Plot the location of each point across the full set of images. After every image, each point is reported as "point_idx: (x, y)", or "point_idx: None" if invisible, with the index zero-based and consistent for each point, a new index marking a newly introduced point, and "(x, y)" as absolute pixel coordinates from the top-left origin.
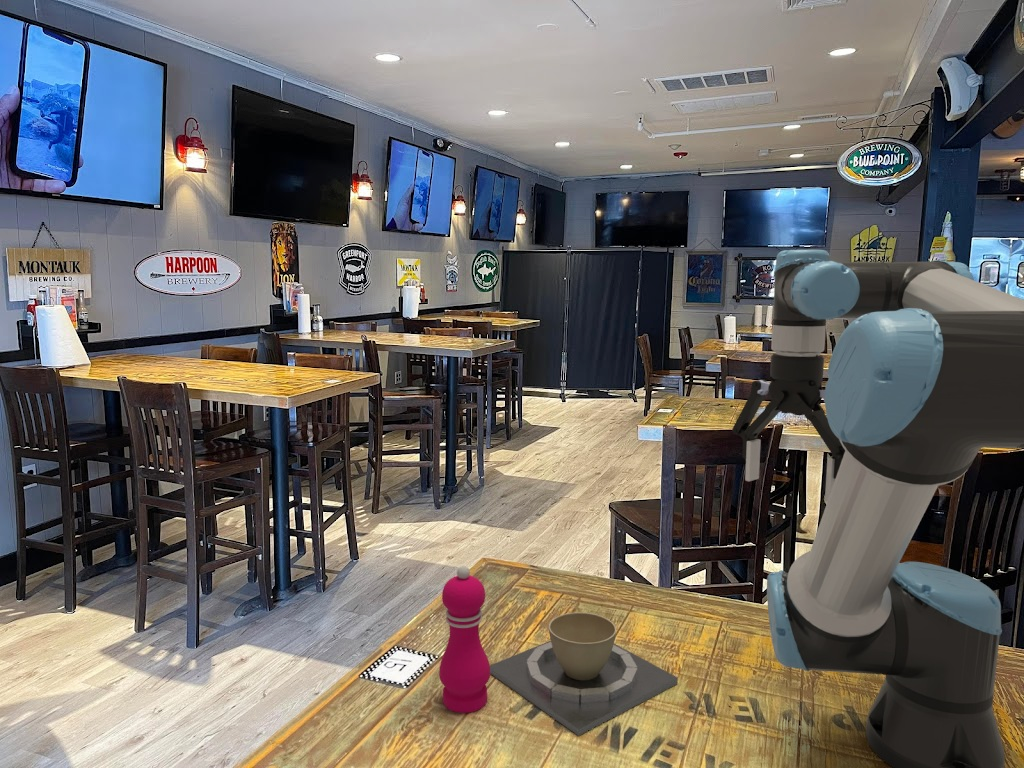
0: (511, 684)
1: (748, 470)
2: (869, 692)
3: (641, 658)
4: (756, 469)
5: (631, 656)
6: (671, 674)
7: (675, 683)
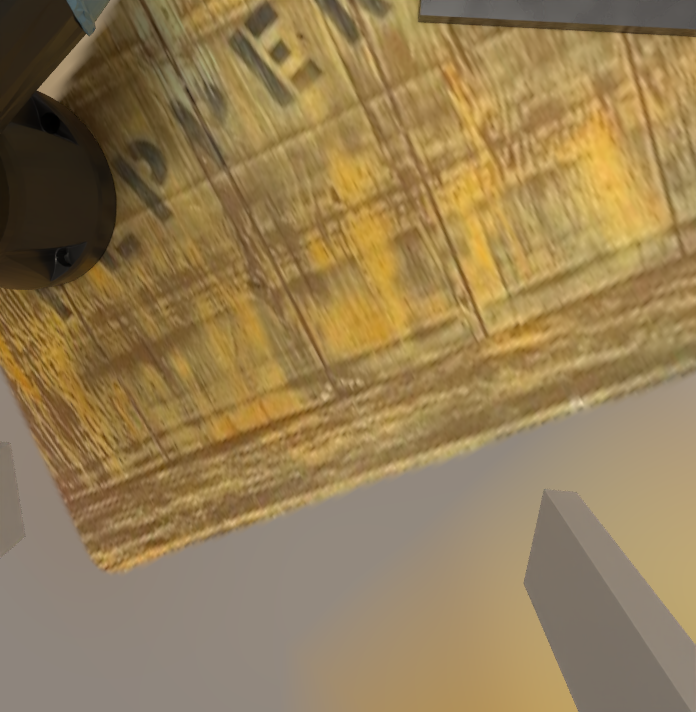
0: None
1: (588, 540)
2: (167, 289)
3: (525, 19)
4: (556, 612)
5: (548, 7)
6: (436, 14)
7: (419, 12)
